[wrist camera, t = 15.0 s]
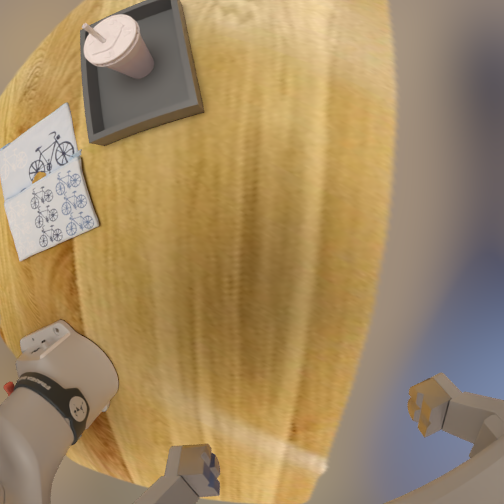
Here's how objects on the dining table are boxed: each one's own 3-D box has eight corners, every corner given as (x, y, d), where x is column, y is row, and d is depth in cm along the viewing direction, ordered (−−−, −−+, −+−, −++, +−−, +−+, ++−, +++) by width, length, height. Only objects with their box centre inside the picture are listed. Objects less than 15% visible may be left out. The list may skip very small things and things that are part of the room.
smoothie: (110, 73, 30) (51, 36, 17) (143, 38, 29) (97, -13, 16) (138, 97, 31) (80, 61, 18) (174, 60, 30) (133, 7, 16)
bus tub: (104, 145, 34) (89, 143, 30) (93, 40, 30) (80, 30, 26) (204, 112, 33) (198, 104, 29) (182, 4, 29) (175, -10, 25)
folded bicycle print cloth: (23, 260, 38) (15, 263, 36) (-1, 150, 34) (-9, 150, 32) (104, 226, 37) (97, 229, 35) (76, 96, 32) (68, 93, 30)
